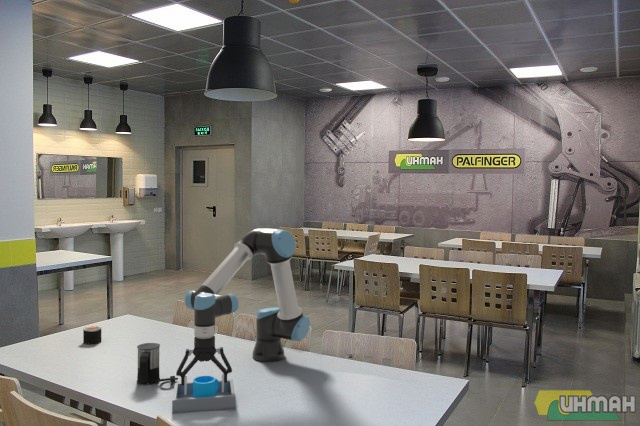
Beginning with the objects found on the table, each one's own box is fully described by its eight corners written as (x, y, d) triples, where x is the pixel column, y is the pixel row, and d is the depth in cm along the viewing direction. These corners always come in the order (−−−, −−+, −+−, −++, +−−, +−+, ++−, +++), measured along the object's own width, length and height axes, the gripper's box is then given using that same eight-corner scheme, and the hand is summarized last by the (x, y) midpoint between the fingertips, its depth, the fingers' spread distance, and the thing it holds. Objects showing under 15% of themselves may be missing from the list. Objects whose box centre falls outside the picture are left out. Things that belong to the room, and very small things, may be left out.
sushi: (89, 339, 271) (89, 324, 271) (104, 340, 270) (104, 325, 270) (80, 344, 263) (80, 328, 263) (95, 345, 262) (95, 329, 262)
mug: (205, 407, 187) (205, 385, 187) (188, 402, 191) (188, 380, 191) (226, 396, 198) (226, 375, 197) (209, 392, 202) (210, 371, 201)
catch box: (232, 391, 205) (232, 379, 205) (235, 409, 188) (235, 396, 188) (174, 395, 200) (174, 382, 200) (172, 413, 183) (172, 400, 183)
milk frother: (136, 378, 217) (136, 343, 216) (175, 374, 223) (175, 339, 222) (138, 391, 204) (138, 353, 203) (179, 385, 210) (179, 349, 209)
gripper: (169, 340, 187) (168, 398, 188) (239, 337, 192) (238, 393, 193) (170, 334, 194) (170, 390, 195) (237, 331, 200) (237, 386, 200)
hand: (204, 392), depth 194 cm, fingers open, 13 cm apart
